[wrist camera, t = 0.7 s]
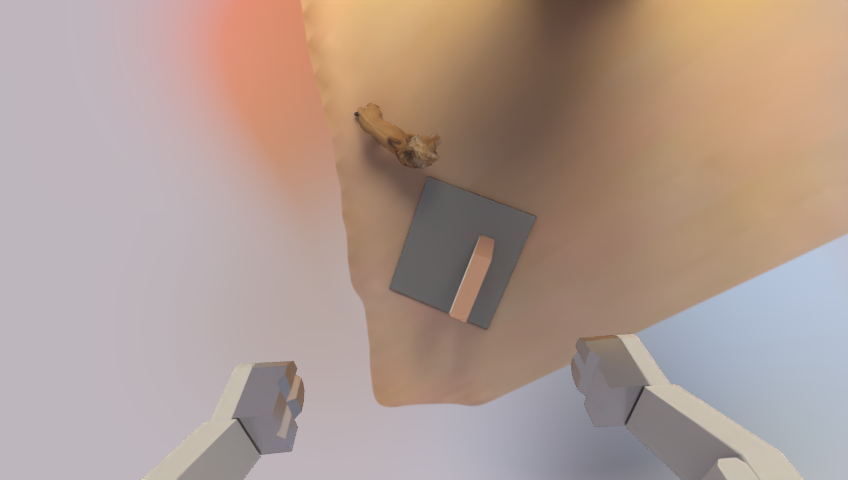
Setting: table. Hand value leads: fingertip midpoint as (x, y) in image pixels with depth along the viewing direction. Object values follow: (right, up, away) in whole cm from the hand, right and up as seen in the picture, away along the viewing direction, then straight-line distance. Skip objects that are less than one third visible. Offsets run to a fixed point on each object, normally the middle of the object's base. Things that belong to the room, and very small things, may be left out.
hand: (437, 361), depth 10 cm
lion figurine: (-3, +18, +41) cm, 45 cm away
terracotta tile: (+7, 0, +42) cm, 42 cm away
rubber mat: (+5, +1, +42) cm, 43 cm away
